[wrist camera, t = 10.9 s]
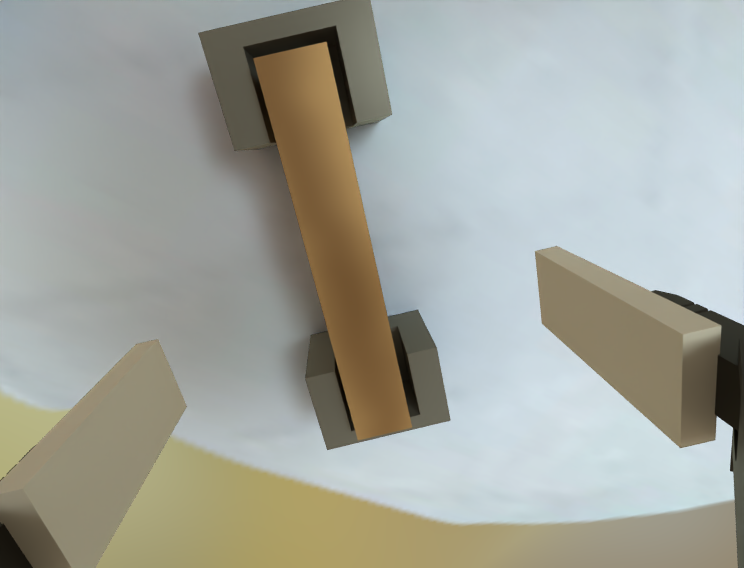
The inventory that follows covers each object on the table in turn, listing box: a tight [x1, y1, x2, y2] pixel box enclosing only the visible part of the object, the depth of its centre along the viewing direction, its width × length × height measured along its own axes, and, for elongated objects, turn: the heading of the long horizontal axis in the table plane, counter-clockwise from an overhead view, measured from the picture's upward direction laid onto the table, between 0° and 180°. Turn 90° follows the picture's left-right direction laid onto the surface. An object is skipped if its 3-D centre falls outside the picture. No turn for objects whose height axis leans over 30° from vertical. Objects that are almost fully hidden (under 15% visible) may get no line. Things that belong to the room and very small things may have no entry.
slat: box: [253, 42, 412, 440], centre depth 26 cm, size 4×22×6 cm, turn 12°
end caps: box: [198, 0, 450, 450], centre depth 28 cm, size 8×25×6 cm, turn 12°
